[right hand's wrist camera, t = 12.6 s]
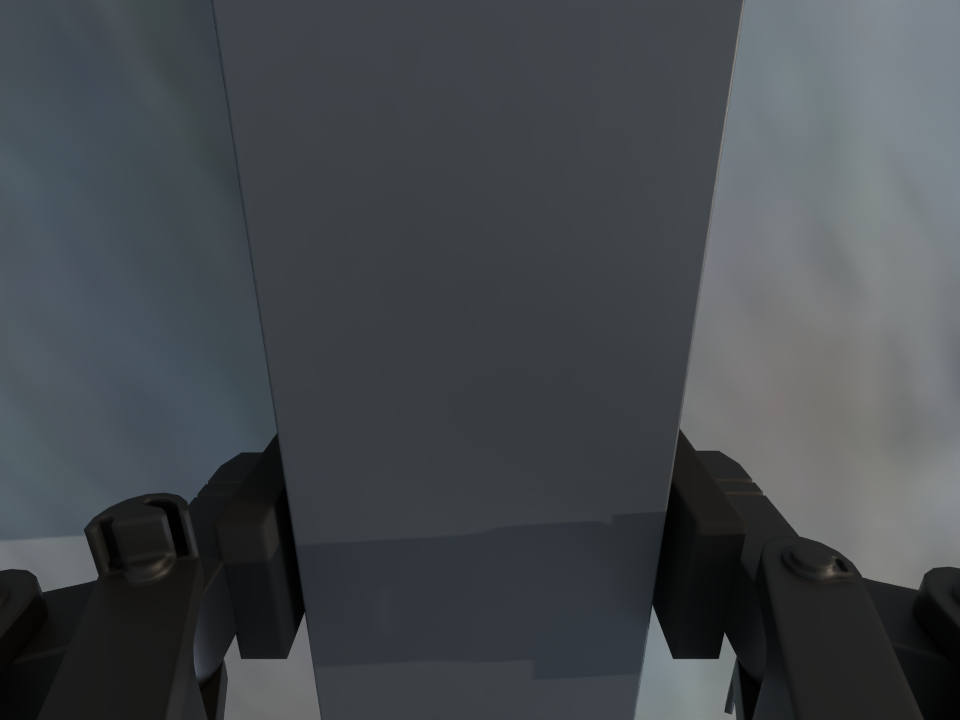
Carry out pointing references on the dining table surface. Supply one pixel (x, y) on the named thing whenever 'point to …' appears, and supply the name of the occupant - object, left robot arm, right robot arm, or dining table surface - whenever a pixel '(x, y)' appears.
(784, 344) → the dining table surface
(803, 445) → the dining table surface
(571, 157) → the bar
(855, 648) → the right robot arm
